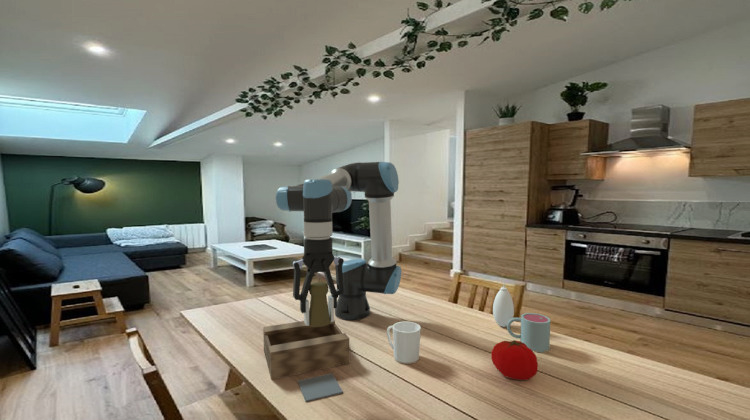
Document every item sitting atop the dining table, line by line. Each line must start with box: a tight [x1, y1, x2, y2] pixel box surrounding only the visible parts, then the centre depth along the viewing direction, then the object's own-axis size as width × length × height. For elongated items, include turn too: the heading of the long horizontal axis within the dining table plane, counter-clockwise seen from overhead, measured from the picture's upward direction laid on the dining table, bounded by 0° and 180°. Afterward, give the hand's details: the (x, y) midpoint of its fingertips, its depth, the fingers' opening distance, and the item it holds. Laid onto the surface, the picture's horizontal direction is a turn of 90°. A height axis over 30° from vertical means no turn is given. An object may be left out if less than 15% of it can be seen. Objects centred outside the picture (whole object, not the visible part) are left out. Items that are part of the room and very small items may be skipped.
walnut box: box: [262, 319, 350, 381], centre depth 114 cm, size 24×20×8 cm
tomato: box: [490, 339, 539, 381], centre depth 103 cm, size 11×13×10 cm
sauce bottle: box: [492, 281, 515, 328], centre depth 139 cm, size 8×8×18 cm
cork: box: [308, 281, 330, 327], centre depth 95 cm, size 6×6×11 cm
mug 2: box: [506, 312, 551, 353], centre depth 123 cm, size 14×9×10 cm
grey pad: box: [297, 373, 344, 403], centre depth 97 cm, size 10×10×1 cm
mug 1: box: [386, 320, 422, 365], centre depth 114 cm, size 11×9×10 cm
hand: (319, 321), depth 96 cm, fingers closed on cork, 6 cm apart
